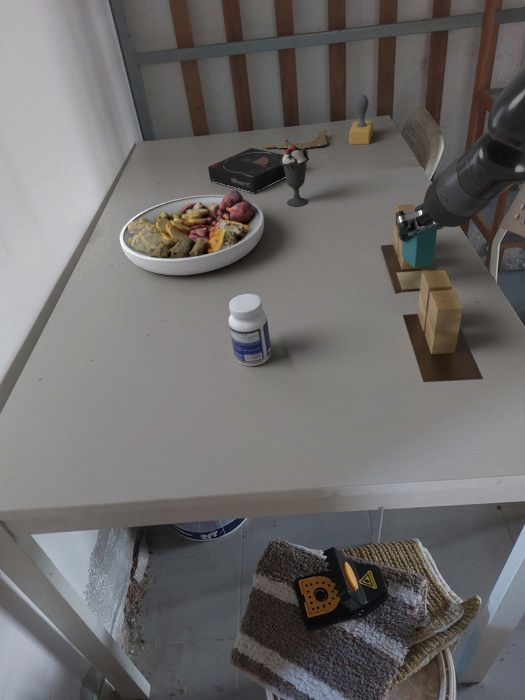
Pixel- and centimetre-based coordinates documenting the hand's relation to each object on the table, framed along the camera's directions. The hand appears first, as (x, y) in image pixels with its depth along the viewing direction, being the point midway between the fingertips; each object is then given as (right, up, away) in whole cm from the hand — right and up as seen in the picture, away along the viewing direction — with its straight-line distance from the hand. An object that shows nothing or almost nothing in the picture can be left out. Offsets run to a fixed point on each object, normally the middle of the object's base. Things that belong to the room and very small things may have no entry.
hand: (413, 233), depth 87 cm
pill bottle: (-27, -21, -7) cm, 35 cm away
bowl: (-40, +3, +23) cm, 46 cm away
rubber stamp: (+4, +43, +66) cm, 79 cm away
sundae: (-17, +15, +36) cm, 42 cm away
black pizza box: (-28, +27, +51) cm, 64 cm away
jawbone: (-15, +42, +69) cm, 82 cm away
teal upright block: (+1, -4, +1) cm, 4 cm away
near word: (+1, -19, -10) cm, 22 cm away
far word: (+2, -5, +8) cm, 9 cm away
